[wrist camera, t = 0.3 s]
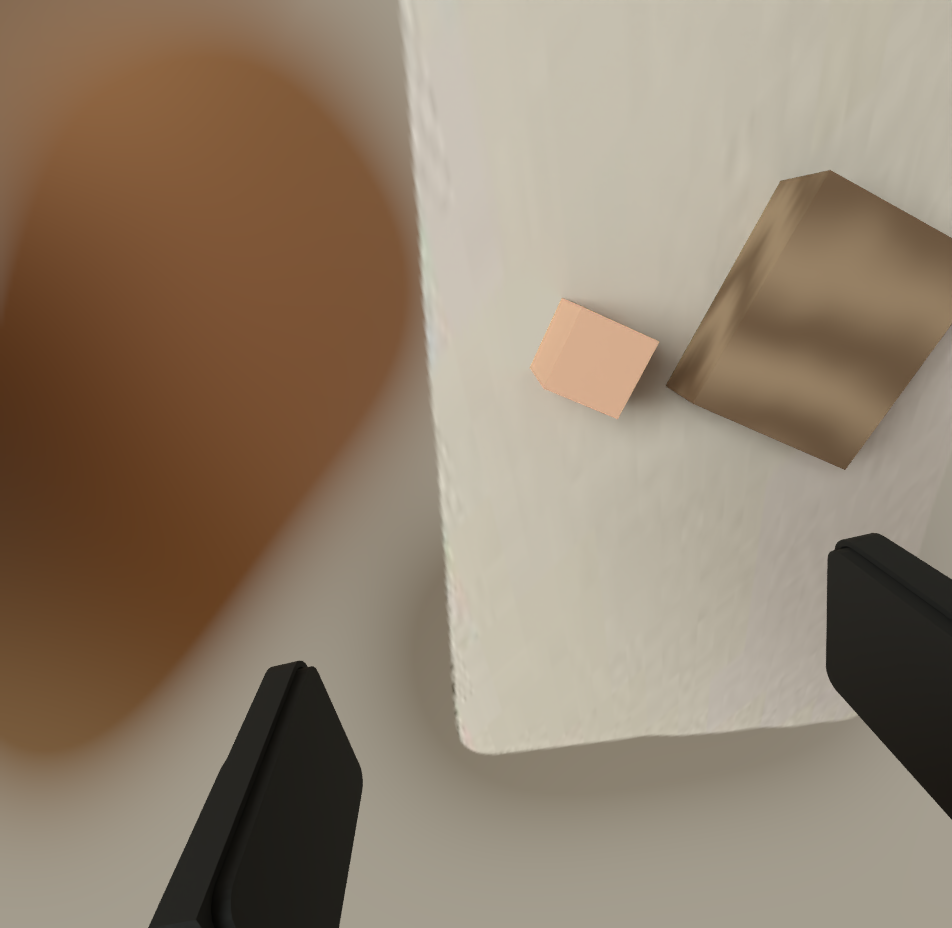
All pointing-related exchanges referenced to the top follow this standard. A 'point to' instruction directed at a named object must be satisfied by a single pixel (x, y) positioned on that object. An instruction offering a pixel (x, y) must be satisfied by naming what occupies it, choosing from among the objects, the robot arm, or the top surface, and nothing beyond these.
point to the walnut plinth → (821, 318)
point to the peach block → (591, 358)
